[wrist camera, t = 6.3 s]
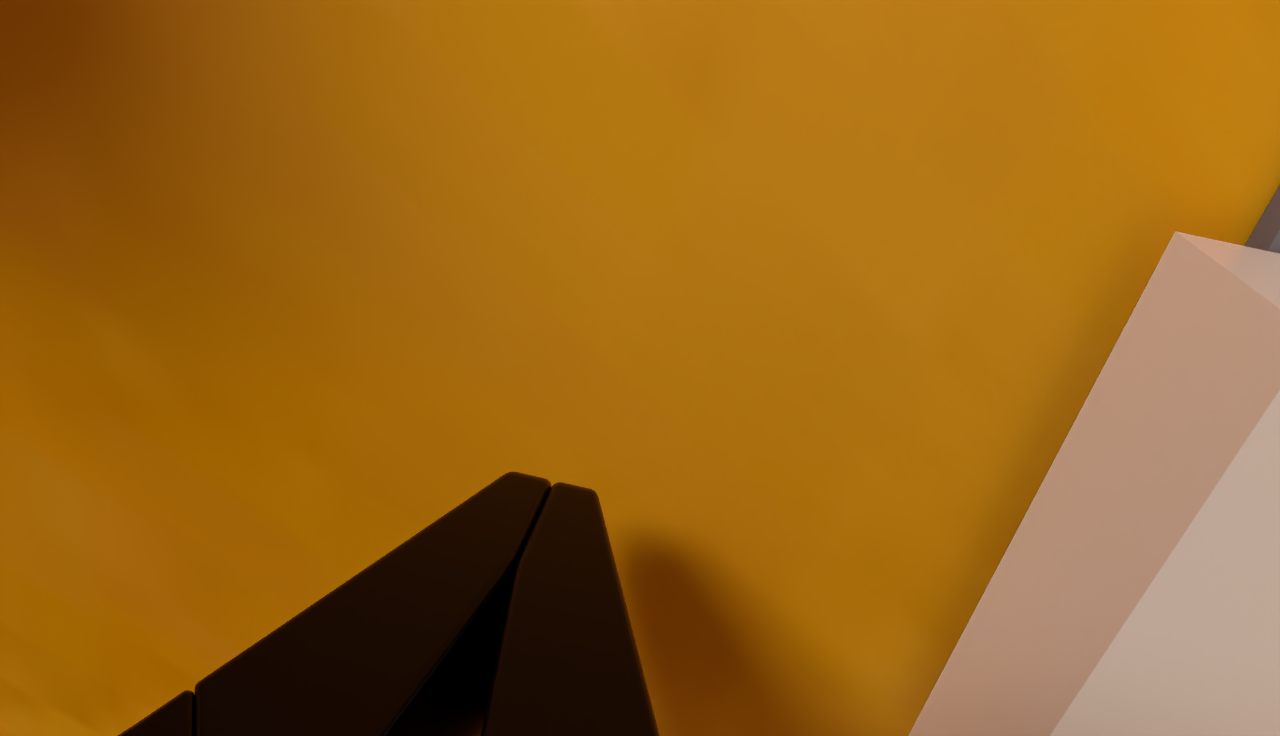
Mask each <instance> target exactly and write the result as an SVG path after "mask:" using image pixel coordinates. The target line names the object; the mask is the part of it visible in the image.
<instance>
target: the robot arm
mask: <svg viewBox="0 0 1280 736" xmlns="http://www.w3.org/2000/svg"><path fill="white" fill-rule="evenodd" d="M118 736H659V732H658V728H657V724H656V720H655V716H654V712H653V708H652V704H651V701H650V697H649V693H648V689H647V685H646V681H645V677H644V673H643V669H642V665H641V662H640V658H639V654H638V650H637V646H636V642H635V638H634V634H633V630H632V626H631V623H630V619H629V615H628V611H627V607H626V603H625V599H624V595H623V591H622V587H621V584H620V580H619V576H618V572H617V568H616V564H615V560H614V556H613V552H612V548H611V545H610V541H609V537H608V533H607V529H606V525H605V521H604V517H603V513H602V509H601V506H600V502H599V498H598V495H597V493H596V492H595V491H594V490H592V489H588V488H584V487H580V486H575V485H571V484H566V483H562V482H558V483H556V484H554V485H553V486H551V483H550V482H549V481H548V480H547V479H544V478H540V477H536V476H531V475H527V474H523V473H518V472H509V473H506V474H504V475H503V476H501V477H500V478H498V479H497V480H495V481H494V482H493V483H491V484H490V485H488V486H487V487H485V488H484V489H482V490H481V491H479V492H478V493H476V494H475V495H473V496H472V497H470V498H469V499H467V500H466V501H465V502H463V503H462V504H460V505H459V506H457V507H456V508H454V509H453V510H451V511H450V512H448V513H447V514H445V515H444V516H442V517H441V518H439V519H438V520H437V521H435V522H434V523H432V524H431V525H429V526H428V527H426V528H425V529H423V530H422V531H420V532H419V533H417V534H416V535H414V536H413V537H411V538H410V539H409V540H407V541H406V542H404V543H403V544H401V545H400V546H398V547H397V548H395V549H394V550H392V551H391V552H389V553H388V554H386V555H385V556H383V557H382V558H380V559H379V560H378V561H376V562H375V563H373V564H372V565H370V566H369V567H367V568H366V569H364V570H363V571H361V572H360V573H358V574H357V575H355V576H354V577H352V578H351V579H350V580H348V581H347V582H345V583H344V584H342V585H341V586H339V587H338V588H336V589H335V590H333V591H332V592H330V593H329V594H327V595H326V596H324V597H323V598H322V599H320V600H319V601H317V602H316V603H314V604H313V605H311V606H310V607H308V608H307V609H305V610H304V611H302V612H301V613H299V614H298V615H296V616H295V617H294V618H292V619H291V620H289V621H288V622H286V623H285V624H283V625H282V626H280V627H279V628H277V629H276V630H274V631H273V632H271V633H270V634H268V635H267V636H266V637H264V638H263V639H261V640H260V641H258V642H257V643H255V644H254V645H252V646H251V647H249V648H248V649H246V650H245V651H243V652H242V653H240V654H239V655H238V656H236V657H235V658H233V659H232V660H230V661H229V662H227V663H226V664H224V665H223V666H221V667H220V668H218V669H217V670H215V671H214V672H212V673H211V674H210V675H208V676H207V677H205V678H204V679H202V680H201V681H199V682H198V683H197V684H196V686H195V695H194V693H193V692H192V691H189V690H187V691H184V692H182V693H181V694H179V695H178V696H176V697H175V698H173V699H172V700H170V701H169V702H167V703H166V704H165V705H163V706H162V707H160V708H159V709H157V710H156V711H154V712H153V713H151V714H150V715H148V716H147V717H145V718H144V719H142V720H141V721H139V722H138V723H137V724H135V725H133V726H132V727H130V728H129V729H127V730H126V731H124V732H123V733H121V734H120V735H118Z"/></svg>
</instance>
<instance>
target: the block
mask: <svg viewBox="0 0 1280 736" xmlns="http://www.w3.org/2000/svg"><path fill="white" fill-rule="evenodd" d="M908 736H1280V254H1279V253H1275V252H1270V251H1265V250H1260V249H1256V248H1251V247H1246V246H1242V245H1237V244H1232V243H1228V242H1223V241H1218V240H1213V239H1209V238H1204V237H1199V236H1195V235H1190V234H1185V233H1180V232H1176V231H1175V233H1174V235H1173V237H1172V238H1171V240H1170V242H1169V244H1168V246H1167V248H1166V250H1165V252H1164V254H1163V255H1162V257H1161V259H1160V261H1159V263H1158V265H1157V267H1156V269H1155V271H1154V272H1153V274H1152V276H1151V278H1150V280H1149V282H1148V284H1147V286H1146V288H1145V289H1144V291H1143V293H1142V295H1141V297H1140V299H1139V301H1138V303H1137V305H1136V306H1135V308H1134V310H1133V312H1132V314H1131V316H1130V318H1129V320H1128V322H1127V323H1126V325H1125V327H1124V329H1123V331H1122V333H1121V335H1120V337H1119V339H1118V340H1117V342H1116V344H1115V346H1114V348H1113V350H1112V352H1111V354H1110V356H1109V357H1108V359H1107V361H1106V363H1105V365H1104V367H1103V369H1102V371H1101V373H1100V374H1099V376H1098V378H1097V380H1096V382H1095V384H1094V386H1093V388H1092V390H1091V391H1090V393H1089V395H1088V397H1087V399H1086V401H1085V403H1084V405H1083V407H1082V408H1081V410H1080V412H1079V414H1078V416H1077V418H1076V420H1075V422H1074V424H1073V425H1072V427H1071V429H1070V431H1069V433H1068V435H1067V437H1066V439H1065V441H1064V442H1063V444H1062V446H1061V448H1060V450H1059V452H1058V454H1057V456H1056V458H1055V459H1054V461H1053V463H1052V465H1051V467H1050V469H1049V471H1048V473H1047V475H1046V476H1045V478H1044V480H1043V482H1042V484H1041V486H1040V488H1039V490H1038V492H1037V493H1036V495H1035V497H1034V499H1033V501H1032V503H1031V505H1030V507H1029V509H1028V510H1027V512H1026V514H1025V516H1024V518H1023V520H1022V522H1021V524H1020V526H1019V527H1018V529H1017V531H1016V533H1015V535H1014V537H1013V539H1012V541H1011V543H1010V544H1009V546H1008V548H1007V550H1006V552H1005V554H1004V556H1003V558H1002V560H1001V561H1000V563H999V565H998V567H997V569H996V571H995V573H994V575H993V577H992V578H991V580H990V582H989V584H988V586H987V588H986V590H985V592H984V594H983V596H982V597H981V599H980V601H979V603H978V605H977V607H976V609H975V611H974V613H973V614H972V616H971V618H970V620H969V622H968V624H967V626H966V628H965V630H964V631H963V633H962V635H961V637H960V639H959V641H958V643H957V645H956V647H955V648H954V650H953V652H952V654H951V656H950V658H949V660H948V662H947V664H946V665H945V667H944V669H943V671H942V673H941V675H940V677H939V679H938V681H937V682H936V684H935V686H934V688H933V690H932V692H931V694H930V696H929V698H928V699H927V701H926V703H925V705H924V707H923V709H922V711H921V713H920V715H919V716H918V718H917V720H916V722H915V724H914V726H913V728H912V730H911V732H910V733H909V735H908Z"/></svg>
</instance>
